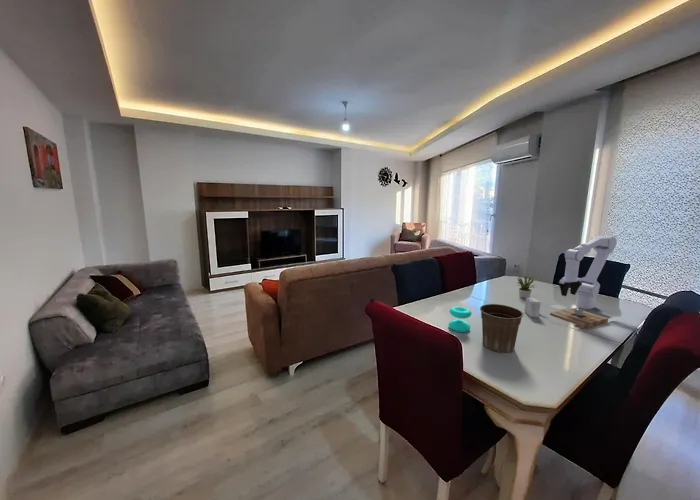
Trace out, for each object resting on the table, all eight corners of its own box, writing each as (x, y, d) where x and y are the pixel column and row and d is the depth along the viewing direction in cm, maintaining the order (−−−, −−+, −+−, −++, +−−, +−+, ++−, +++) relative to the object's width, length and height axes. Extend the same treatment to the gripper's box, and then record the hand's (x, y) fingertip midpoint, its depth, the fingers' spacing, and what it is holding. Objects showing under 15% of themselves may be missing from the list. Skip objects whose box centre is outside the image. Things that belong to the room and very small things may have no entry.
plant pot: (500, 359, 113) (504, 320, 110) (468, 341, 128) (471, 306, 125) (528, 351, 119) (532, 314, 117) (495, 335, 134) (498, 301, 131)
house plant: (539, 297, 187) (542, 273, 184) (539, 304, 175) (542, 278, 173) (514, 294, 194) (516, 270, 192) (513, 299, 183) (515, 274, 180)
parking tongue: (557, 306, 170) (558, 304, 170) (568, 310, 165) (568, 307, 165) (548, 308, 168) (548, 306, 167) (559, 312, 162) (559, 309, 162)
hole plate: (574, 312, 162) (574, 307, 162) (607, 323, 147) (608, 318, 147) (549, 317, 155) (550, 312, 155) (582, 329, 140) (583, 323, 140)
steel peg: (576, 318, 154) (577, 307, 153) (583, 320, 150) (585, 309, 149) (571, 319, 153) (573, 308, 152) (578, 321, 149) (580, 310, 148)
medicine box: (539, 317, 154) (540, 302, 153) (529, 317, 155) (531, 301, 154) (532, 312, 162) (534, 297, 161) (524, 311, 163) (525, 297, 161)
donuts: (476, 311, 137) (460, 314, 133) (474, 330, 138) (458, 334, 134) (460, 304, 146) (445, 307, 142) (459, 323, 147) (444, 326, 143)
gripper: (572, 268, 164) (569, 291, 166) (555, 270, 159) (552, 294, 161) (586, 271, 157) (582, 295, 159) (568, 273, 152) (565, 298, 154)
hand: (568, 295), depth 160 cm, fingers open, 7 cm apart
